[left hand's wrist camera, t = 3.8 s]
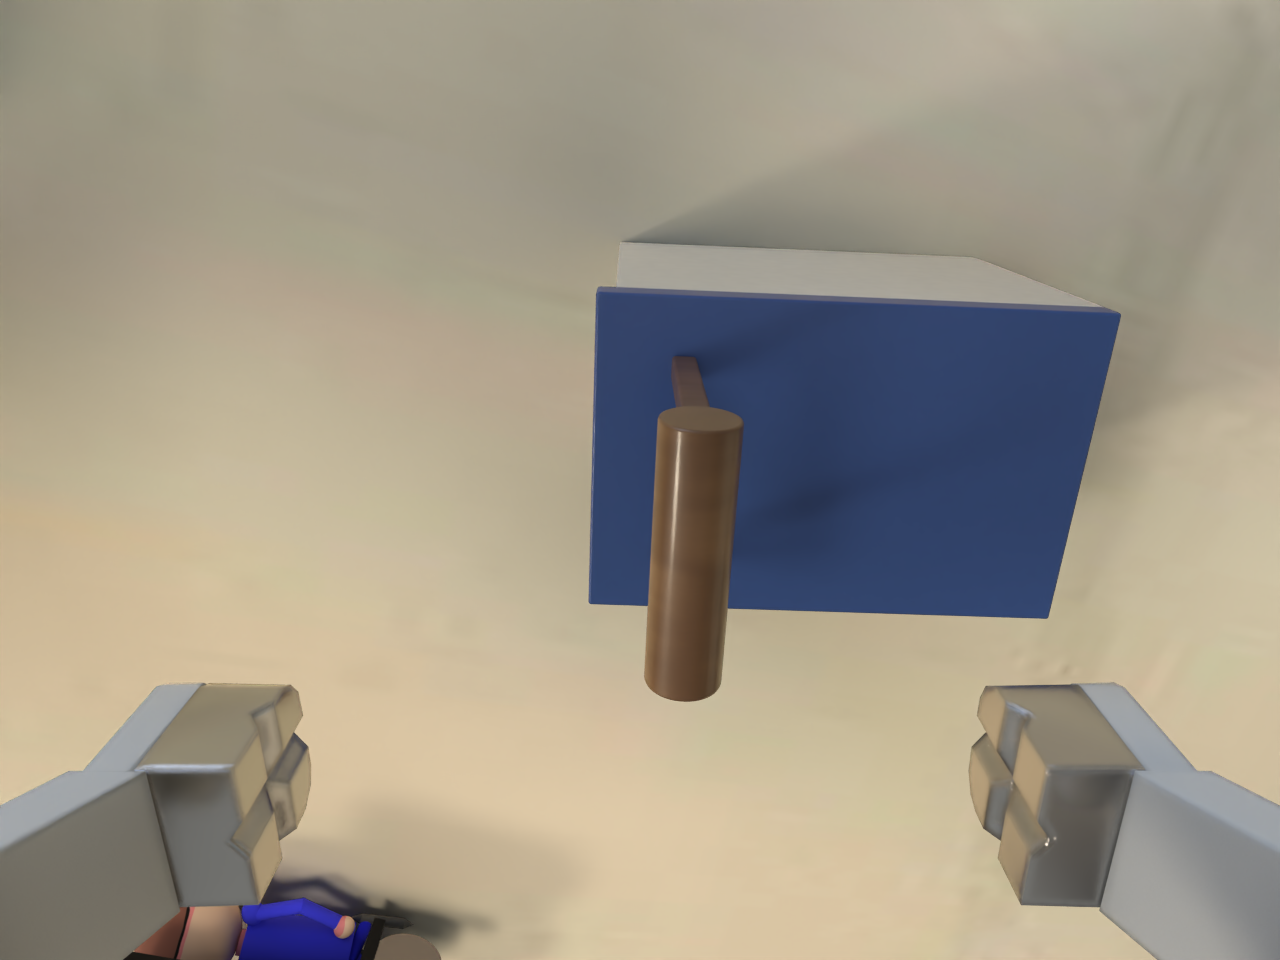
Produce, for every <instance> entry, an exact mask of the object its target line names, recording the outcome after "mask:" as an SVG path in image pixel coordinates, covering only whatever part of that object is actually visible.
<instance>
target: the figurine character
mask: <svg viewBox="0 0 1280 960" xmlns="http://www.w3.org/2000/svg"><path fill="white" fill-rule="evenodd" d="M297 914H301V915H303V916H299V915H297ZM241 915H242V917H241ZM242 919H243V921H244V922H245V923H246V924H248V927H247V929H242ZM354 920H355V921H356V922H358V923H359V926H358V928H357V930H356V932H355V927H356V922H354ZM371 925H372V927H371ZM412 925H413V924H412V923H411V922H409V921H408V920H406V919H405V918H399V917H390V916H381V915H373V914H364V913H362V914H359V915H356V916H353V917H349V916H342V915H340V914H338V913H336V912H333V911H331V910H329V909H327V908H325V907H323V906H320V905H318V904H316V903H314V902H312V901H310V900H308V899H306V898H300V899H294V900H288V901H282V902H275V903H269V904H263V905H262V904H261V903H260V904H259V905H244V906H243V908H242V911H241V912H240V909H239V906H206V907H180V912H179V913H178V914H177V915H175V916H174V917H173V918H172V919H171V920H170V921H168V922H167V923H166V924H165V925H164V926H162V927H161V928H160V929H159V930H158V931H156V932H155V933H154V934H153V935H152V936H151V937H149V938H148V939H147V940H146V941H145V942H143V943H142V944H141V945H140V946H139V947H137V948H136V949H135V950H134V952H132V953H130V954H129V955H128V956H127V957H126V958H124V959H123V960H231V959H232V957H233V956H234V954H235V952H236V954H235V956H239V960H441V957H440V954H439V952H438V951H437V949H436V948H435V947H434V946H433V945H432V944H431V943H430V942H429V941H427V940H425V939H424V938H422V937H419V936H416V935H412V934H394V935H390V936H388V937H385V938H383V939H382V940H380V938H381V934H382V931H383V928H384V927H392V928H400V929H403V928H406V927H409V926H412ZM370 929H371V930H370ZM369 932H370V933H369ZM354 933H355V934H354ZM368 934H369V936H368ZM367 936H368V938H367ZM366 938H367V941H366ZM365 941H366V944H365V947H364V949H362V948H363V945H364V943H365Z"/></svg>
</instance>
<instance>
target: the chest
mask: <svg viewBox="0 0 1280 960" xmlns="http://www.w3.org/2000/svg"><path fill="white" fill-rule="evenodd" d="M616 287H626V288H650V289H674V290H699V291H723V292H747V293H771V294H796V295H820V296H844V297H868V298H893V299H917V300H941V301H965V302H989V303H1014V304H1038V305H1062V306H1086V307H1103V306H1101V305H1098V304H1095V303H1093V302H1090V301H1088V300H1085V299H1082V298H1080V297H1077V296H1074V295H1072V294H1069V293H1067V292H1064V291H1061V290H1059V289H1056V288H1054V287H1051V286H1048V285H1046V284H1043V283H1041V282H1038V281H1035V280H1033V279H1030V278H1028V277H1025V276H1022V275H1020V274H1017V273H1015V272H1012V271H1009V270H1007V269H1004V268H1002V267H999V266H996V265H994V264H991V263H988V262H986V261H983V260H980V259H977V258H975V257H961V256H938V255H914V254H891V253H867V252H844V251H820V250H797V249H773V248H750V247H726V246H703V245H679V244H656V243H632V242H621V243H620V246H619V258H618V270H617V282H616Z"/></svg>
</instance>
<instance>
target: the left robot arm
mask: <svg viewBox="0 0 1280 960" xmlns="http://www.w3.org/2000/svg"><path fill="white" fill-rule="evenodd" d="M302 716H303V713H302V708H301V703H300V698H299V693H298V691H297V690H296V689H295V688H294V687H293V686H291V685H273V684H226V683H209V684H205V683H166V684H163V685H160V686H157V687H156V688H155V689H154V690H153V691H152V692H151V693H150V694H149V695H148V697H147V698H146V699H145V700H144V701H143V702H142V704H141V705H140V706H139V707H138V708H137V709H136V710H135V712H134V713H133V714H132V715H131V716H130V717H129V718H128V720H127V721H126V722H125V723H124V724H123V725H122V726H121V728H120V729H119V730H118V731H117V732H116V733H115V734H114V736H113V737H112V738H111V739H110V740H109V741H108V743H107V744H106V745H105V746H104V747H103V748H102V749H101V751H100V752H99V753H98V754H97V755H96V756H95V757H94V759H93V760H92V761H91V762H90V763H89V764H88V765H87V767H86V768H85V769H84V770H83V771H68V772H66V773H64V774H62V775H60V776H58V777H56V778H54V779H52V780H50V781H48V782H46V783H44V784H42V785H40V786H38V787H36V788H34V789H32V790H30V791H28V792H26V793H24V794H22V795H20V796H18V797H16V798H14V799H12V800H10V801H8V802H7V803H5V804H3V805H1V806H0V960H123V959H124V958H126V957H127V956H128V955H129V954H130V953H132V952H133V951H134V950H135V949H136V948H137V947H139V946H140V945H141V944H142V943H143V942H145V941H146V940H147V939H148V938H149V937H151V936H152V935H153V934H154V933H155V932H156V931H158V930H159V929H160V928H161V927H162V926H164V925H165V924H166V923H167V922H168V921H170V920H171V919H172V918H173V917H174V916H175V915H177V914H178V913H179V912H180V907H206V906H240V905H259V904H260V902H261V900H262V898H263V896H264V894H265V892H266V890H267V888H268V886H269V884H270V882H271V880H272V878H273V876H274V874H275V872H276V870H277V868H278V866H279V864H280V862H281V860H282V854H281V848H280V843H279V841H280V840H281V839H282V838H284V837H285V836H287V835H288V834H289V833H291V832H292V831H294V830H295V829H297V827H298V824H299V822H300V820H301V818H302V816H303V814H304V811H305V809H306V805H307V800H308V795H309V791H310V786H311V761H310V755H309V748H308V746H307V745H306V744H305V743H304V742H303V741H302V740H301V739H300V738H299V737H298V736H297V735H296V734H295V733H294V731H295V729H296V727H297V725H298V724H299V722H300V720H301V718H302ZM977 716H978V718H979V720H980V722H981V724H982V725H983V727H984V729H985V731H986V733H985V734H984V735H983V736H982V737H981V738H980V739H979V740H978V741H977V742H976V743H975V744H974V745H973V746H972V748H971V756H970V764H969V781H970V793H971V797H972V801H973V804H974V808H975V812H976V814H977V816H978V818H979V820H980V822H981V825H982V827H983V829H985V830H986V831H988V832H989V833H991V834H992V835H993V836H995V837H996V838H998V839H999V840H1000V841H1001V843H1000V849H999V854H998V860H999V862H1000V864H1001V866H1002V868H1003V870H1004V872H1005V874H1006V876H1007V878H1008V880H1009V882H1010V884H1011V886H1012V888H1013V890H1014V892H1015V894H1016V896H1017V898H1018V900H1019V902H1020V904H1021V905H1038V906H1073V907H1100V912H1101V913H1103V914H1104V915H1105V916H1106V917H1107V918H1109V919H1110V920H1111V921H1112V922H1113V923H1114V924H1116V925H1117V926H1118V927H1119V928H1120V929H1122V930H1123V931H1124V932H1125V933H1126V934H1127V935H1129V936H1130V937H1131V938H1132V939H1133V940H1135V941H1136V942H1137V943H1138V944H1139V945H1141V946H1142V947H1143V948H1144V949H1145V950H1146V951H1148V952H1149V953H1150V954H1151V955H1152V956H1154V957H1155V958H1156V959H1157V960H1280V806H1279V805H1277V804H1275V803H1273V802H1271V801H1269V800H1267V799H1265V798H1263V797H1261V796H1259V795H1257V794H1256V793H1254V792H1252V791H1250V790H1248V789H1246V788H1244V787H1242V786H1240V785H1238V784H1236V783H1234V782H1232V781H1230V780H1228V779H1226V778H1224V777H1222V776H1220V775H1218V774H1216V773H1214V772H1212V771H1197V770H1196V769H1195V768H1194V767H1193V766H1192V764H1191V763H1190V762H1189V761H1188V760H1187V759H1186V757H1185V756H1184V755H1183V754H1182V753H1181V752H1180V751H1179V749H1178V748H1177V747H1176V746H1175V745H1174V744H1173V743H1172V741H1171V740H1170V739H1169V738H1168V737H1167V736H1166V735H1165V733H1164V732H1163V731H1162V730H1161V729H1160V728H1159V726H1158V725H1157V724H1156V723H1155V722H1154V721H1153V720H1152V718H1151V717H1150V716H1149V715H1148V714H1147V713H1146V712H1145V710H1144V709H1143V708H1142V707H1141V706H1140V705H1139V704H1138V702H1137V701H1136V700H1135V699H1134V698H1133V697H1132V696H1131V694H1130V693H1129V692H1128V691H1127V690H1126V689H1125V688H1124V687H1123V686H1120V685H1118V684H1116V683H1114V682H1111V683H1080V684H1071V685H1018V686H986V687H985V689H984V691H983V693H982V695H981V697H980V701H979V707H978V712H977Z"/></svg>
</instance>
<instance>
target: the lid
mask: <svg viewBox="0 0 1280 960" xmlns="http://www.w3.org/2000/svg"><path fill="white" fill-rule="evenodd" d="M1120 318H1121V314H1120V313H1118V312H1115V311H1112V310H1110V309H1107V308H1105V307H1086V306H1062V305H1038V304H1014V303H989V302H965V301H941V300H917V299H893V298H868V297H844V296H820V295H796V294H771V293H747V292H723V291H699V290H674V289H650V288H626V287H602V286H600V287H598V289H597V293H596V322H595V363H594V403H593V444H592V485H591V525H590V566H589V603H590V604H604V605H636V606H648V614H647V634H646V653H645V672H644V678H645V681H646V684H647V685H648V687H649V688H650V689H651V690H652V691H653V692H655V693H656V694H658V695H660V696H662V697H664V698H667V699H670V700H675V701H684V702H690V701H698V700H702V699H705V698H708V697H710V696H711V695H713V694H714V693H715V692H716V691H717V690H718V688H719V687H720V684H721V677H722V666H723V654H724V643H725V632H726V621H727V610H728V608H729V609H760V610H792V611H823V612H854V613H885V614H916V615H948V616H979V617H1010V618H1041V619H1047V618H1048V616H1049V612H1050V608H1051V604H1052V600H1053V595H1054V591H1055V587H1056V583H1057V579H1058V575H1059V571H1060V566H1061V562H1062V558H1063V554H1064V550H1065V546H1066V542H1067V537H1068V533H1069V529H1070V525H1071V521H1072V517H1073V513H1074V508H1075V504H1076V500H1077V496H1078V492H1079V488H1080V484H1081V479H1082V475H1083V471H1084V467H1085V463H1086V459H1087V455H1088V450H1089V446H1090V442H1091V438H1092V434H1093V430H1094V425H1095V421H1096V417H1097V413H1098V409H1099V405H1100V401H1101V396H1102V392H1103V388H1104V384H1105V380H1106V376H1107V372H1108V367H1109V363H1110V359H1111V355H1112V351H1113V347H1114V343H1115V338H1116V334H1117V330H1118V326H1119V322H1120Z"/></svg>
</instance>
